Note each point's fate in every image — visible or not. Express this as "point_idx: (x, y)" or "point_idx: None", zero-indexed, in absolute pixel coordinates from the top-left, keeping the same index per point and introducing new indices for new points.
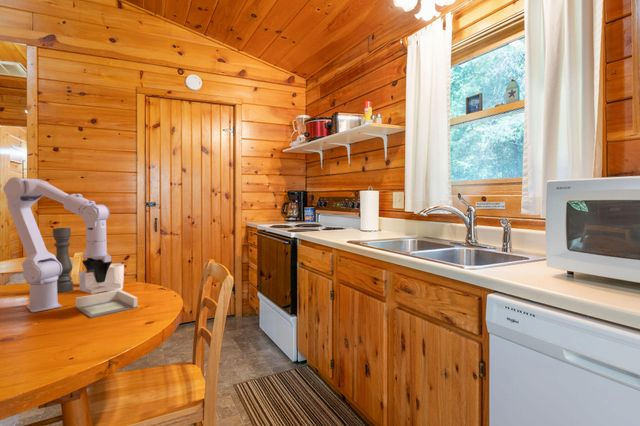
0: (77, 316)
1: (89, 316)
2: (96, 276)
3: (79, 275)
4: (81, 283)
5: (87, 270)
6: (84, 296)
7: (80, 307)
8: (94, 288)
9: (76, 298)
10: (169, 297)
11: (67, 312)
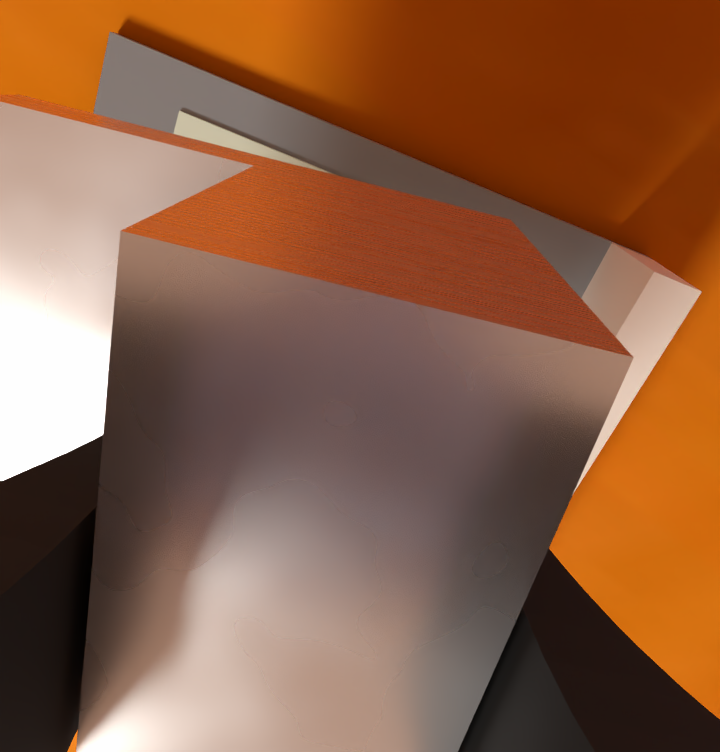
0: (330, 21)
1: (149, 47)
2: (98, 454)
3: (584, 309)
4: (438, 226)
5: (526, 595)
6: (627, 376)
7: (571, 258)
8: (57, 217)
9: (666, 276)
10: (70, 747)
11: (599, 89)
